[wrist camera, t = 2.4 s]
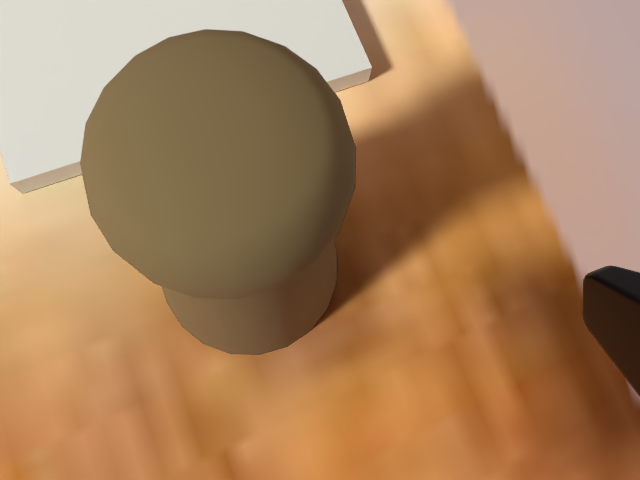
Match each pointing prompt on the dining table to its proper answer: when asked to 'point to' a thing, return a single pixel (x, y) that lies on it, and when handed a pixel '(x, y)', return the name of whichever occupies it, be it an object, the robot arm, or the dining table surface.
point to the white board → (118, 49)
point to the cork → (224, 184)
